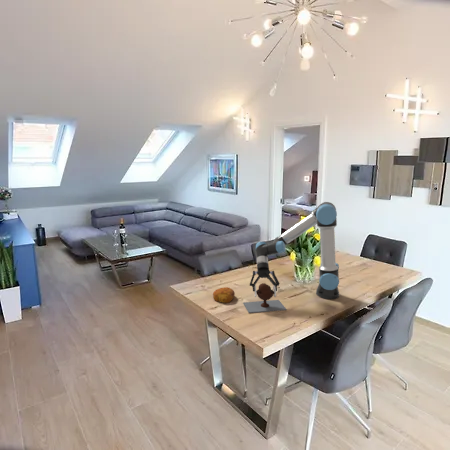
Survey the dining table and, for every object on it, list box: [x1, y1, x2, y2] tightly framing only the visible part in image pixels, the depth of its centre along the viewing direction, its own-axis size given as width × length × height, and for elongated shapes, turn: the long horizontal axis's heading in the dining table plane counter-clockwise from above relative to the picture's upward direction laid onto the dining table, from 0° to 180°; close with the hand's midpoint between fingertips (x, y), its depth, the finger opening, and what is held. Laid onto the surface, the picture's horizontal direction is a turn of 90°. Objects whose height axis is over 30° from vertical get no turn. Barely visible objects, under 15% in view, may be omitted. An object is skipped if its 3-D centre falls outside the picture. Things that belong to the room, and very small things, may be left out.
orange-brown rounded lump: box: [212, 286, 236, 304], centre depth 223 cm, size 14×16×8 cm
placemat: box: [242, 299, 287, 314], centre depth 211 cm, size 24×14×1 cm, turn 101°
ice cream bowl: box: [256, 282, 274, 308], centre depth 210 cm, size 11×11×15 cm
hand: (265, 296), depth 207 cm, fingers open, 11 cm apart
